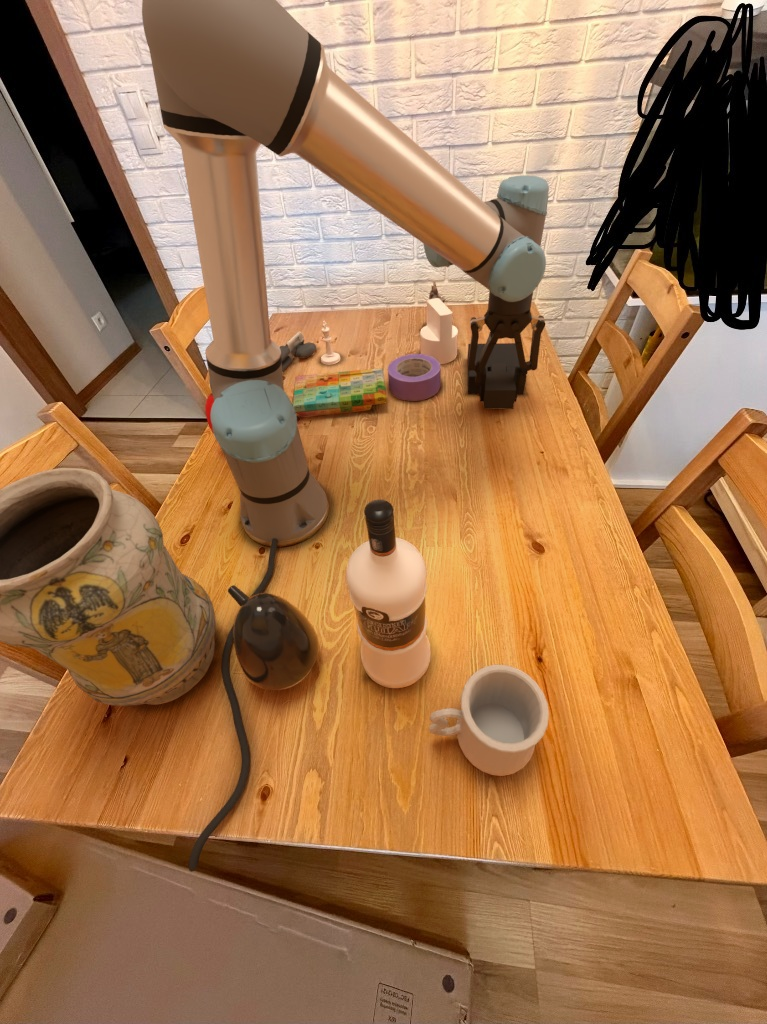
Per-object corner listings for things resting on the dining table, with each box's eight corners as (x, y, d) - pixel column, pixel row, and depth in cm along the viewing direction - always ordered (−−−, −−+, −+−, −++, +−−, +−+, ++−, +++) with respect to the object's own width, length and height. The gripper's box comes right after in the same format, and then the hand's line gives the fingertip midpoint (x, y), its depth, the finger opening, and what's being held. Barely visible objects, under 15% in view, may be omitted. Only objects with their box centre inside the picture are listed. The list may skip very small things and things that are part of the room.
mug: (523, 694, 58) (537, 660, 50) (542, 775, 52) (561, 750, 44) (425, 700, 58) (424, 667, 51) (432, 781, 52) (433, 757, 45)
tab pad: (513, 408, 95) (516, 390, 91) (483, 408, 96) (485, 390, 92) (509, 381, 101) (512, 363, 98) (482, 382, 102) (483, 363, 99)
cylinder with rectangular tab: (415, 350, 116) (414, 302, 107) (448, 342, 118) (449, 295, 109) (428, 367, 110) (428, 318, 101) (462, 359, 112) (465, 310, 103)
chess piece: (318, 363, 115) (310, 325, 108) (325, 353, 118) (318, 315, 111) (336, 365, 114) (330, 326, 107) (343, 355, 117) (337, 317, 110)
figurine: (422, 335, 121) (421, 289, 112) (426, 323, 125) (426, 277, 116) (446, 336, 120) (447, 289, 111) (450, 324, 124) (451, 278, 115)
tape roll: (385, 376, 109) (383, 357, 105) (433, 369, 110) (433, 350, 106) (393, 405, 101) (392, 385, 97) (445, 397, 102) (446, 377, 98)
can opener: (300, 345, 122) (296, 327, 118) (320, 350, 120) (317, 331, 116) (256, 383, 111) (250, 364, 107) (277, 389, 109) (272, 369, 105)
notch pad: (523, 394, 100) (526, 376, 97) (467, 394, 102) (469, 376, 99) (518, 360, 110) (521, 343, 106) (467, 361, 111) (468, 343, 108)
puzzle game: (294, 373, 104) (382, 364, 104) (298, 391, 107) (384, 382, 107) (291, 403, 96) (386, 393, 96) (296, 421, 100) (387, 412, 99)
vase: (114, 757, 56) (-91, 647, 34) (89, 645, 67) (-80, 506, 45) (250, 674, 62) (151, 534, 40) (208, 583, 73) (110, 432, 50)
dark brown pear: (287, 615, 68) (259, 553, 56) (338, 656, 63) (319, 597, 52) (232, 668, 63) (190, 612, 52) (283, 717, 58) (249, 667, 47)
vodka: (441, 642, 63) (448, 489, 41) (411, 704, 58) (401, 566, 36) (382, 615, 67) (359, 460, 44) (349, 671, 61) (304, 527, 39)
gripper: (456, 296, 79) (452, 408, 96) (571, 293, 76) (546, 408, 94) (457, 278, 84) (452, 388, 101) (565, 274, 81) (541, 387, 99)
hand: (497, 397), depth 97 cm, fingers closed on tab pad, 6 cm apart
